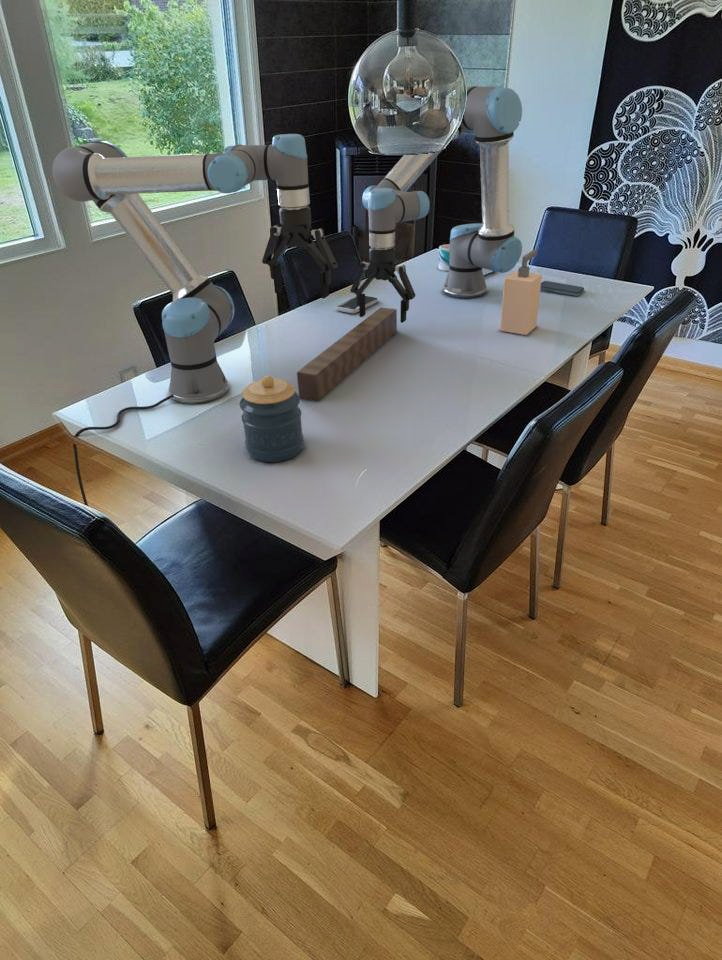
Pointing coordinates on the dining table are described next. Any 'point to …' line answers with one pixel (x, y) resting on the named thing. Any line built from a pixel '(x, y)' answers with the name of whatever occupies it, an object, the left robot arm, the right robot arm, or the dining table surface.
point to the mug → (444, 257)
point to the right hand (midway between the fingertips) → (382, 318)
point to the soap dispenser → (521, 299)
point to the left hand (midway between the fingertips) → (301, 294)
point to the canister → (271, 420)
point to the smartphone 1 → (355, 304)
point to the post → (346, 354)
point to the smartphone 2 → (561, 288)
